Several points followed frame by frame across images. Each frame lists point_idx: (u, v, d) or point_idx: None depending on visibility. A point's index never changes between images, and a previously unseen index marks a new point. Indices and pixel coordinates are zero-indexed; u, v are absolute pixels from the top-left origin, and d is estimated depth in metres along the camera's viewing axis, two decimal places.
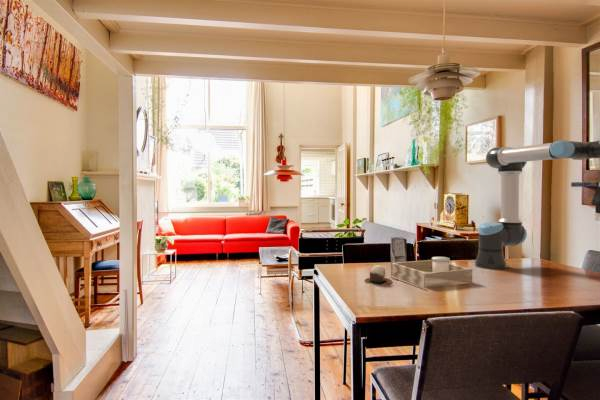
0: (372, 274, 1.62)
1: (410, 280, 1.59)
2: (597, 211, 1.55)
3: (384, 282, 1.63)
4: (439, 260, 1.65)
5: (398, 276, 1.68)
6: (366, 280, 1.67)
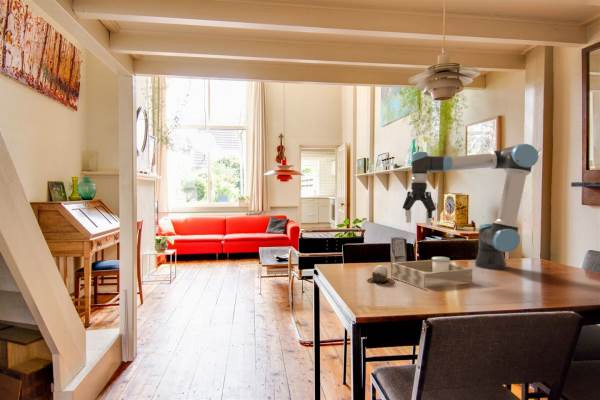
0: (375, 274, 1.62)
1: (410, 280, 1.59)
2: None
3: (387, 282, 1.63)
4: (439, 260, 1.65)
5: (398, 276, 1.68)
6: (368, 280, 1.67)
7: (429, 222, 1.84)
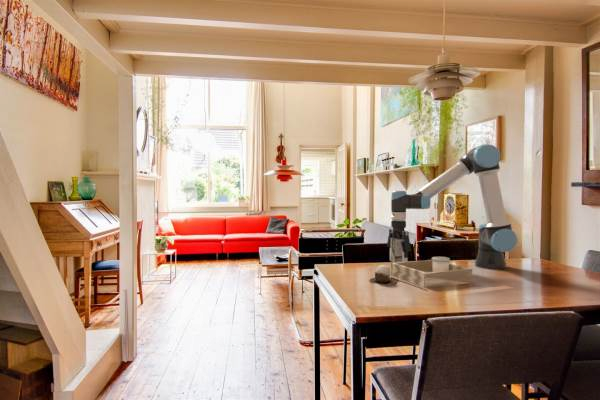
0: (377, 274, 1.62)
1: (410, 280, 1.59)
2: None
3: (389, 282, 1.63)
4: (439, 260, 1.65)
5: (398, 276, 1.68)
6: (371, 280, 1.67)
7: (406, 261, 1.89)
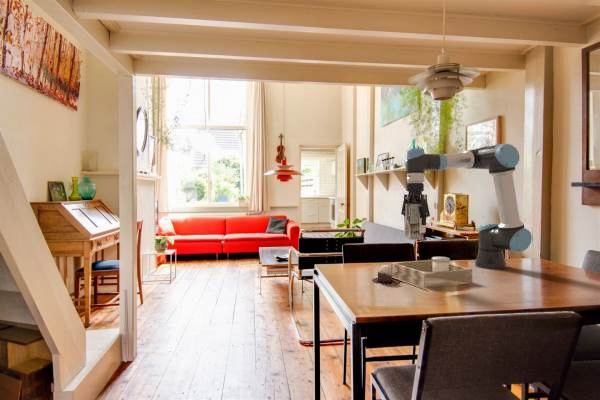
0: (380, 274, 1.62)
1: (410, 280, 1.59)
2: None
3: (392, 282, 1.64)
4: (439, 260, 1.65)
5: (398, 276, 1.68)
6: (373, 280, 1.67)
7: (423, 230, 1.63)
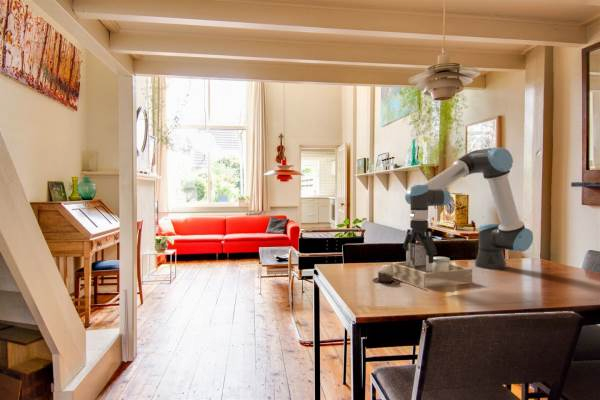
0: (381, 274, 1.62)
1: (410, 280, 1.59)
2: None
3: (393, 282, 1.64)
4: (439, 260, 1.65)
5: (398, 276, 1.68)
6: (374, 280, 1.67)
7: (430, 267, 1.57)
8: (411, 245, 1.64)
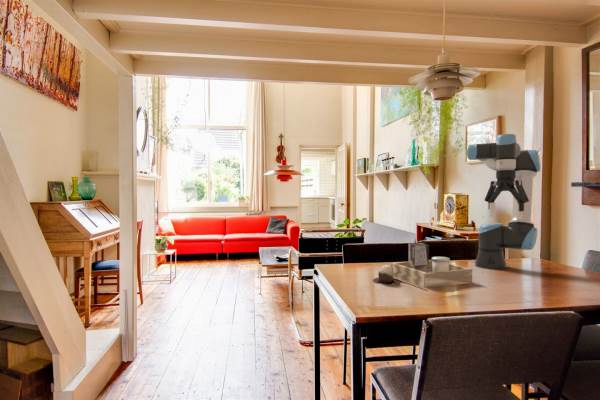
0: (381, 274, 1.62)
1: (410, 280, 1.59)
2: None
3: (393, 282, 1.63)
4: (439, 260, 1.65)
5: (398, 276, 1.68)
6: (374, 280, 1.67)
7: (520, 216, 1.56)
8: (411, 245, 1.64)
